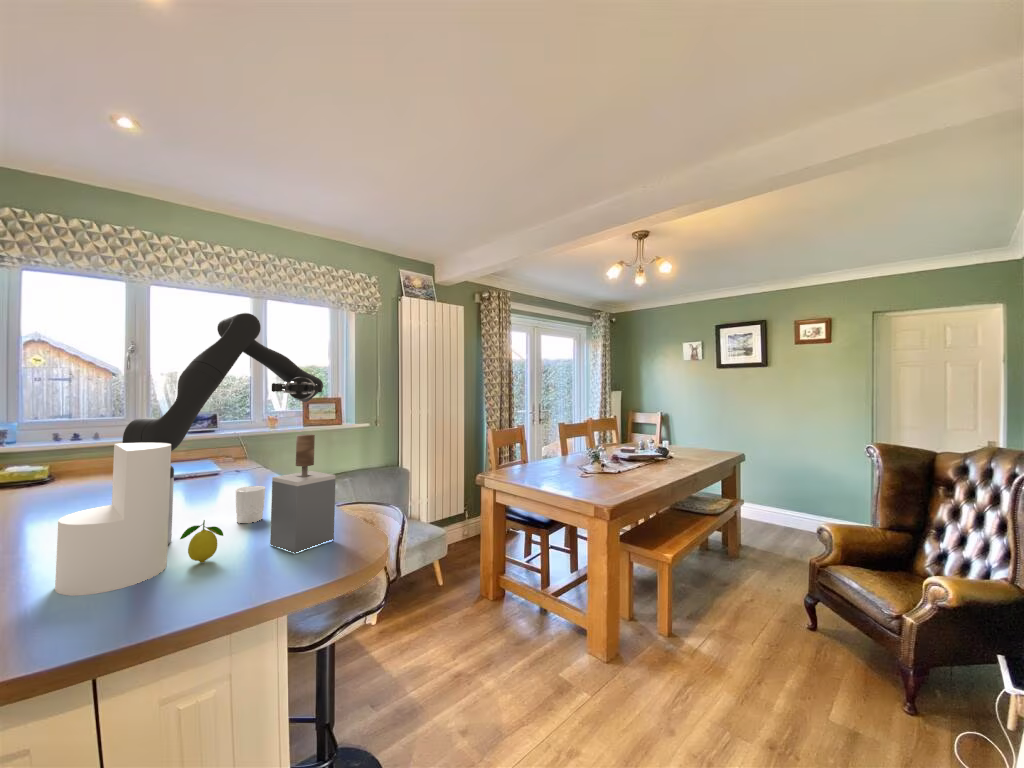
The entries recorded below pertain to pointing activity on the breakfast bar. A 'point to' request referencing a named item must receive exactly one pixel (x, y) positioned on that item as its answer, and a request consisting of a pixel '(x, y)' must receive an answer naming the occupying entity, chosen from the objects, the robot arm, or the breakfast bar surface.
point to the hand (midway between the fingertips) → (294, 387)
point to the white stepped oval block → (119, 527)
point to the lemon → (202, 542)
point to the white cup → (250, 504)
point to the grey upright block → (302, 510)
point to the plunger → (305, 452)
